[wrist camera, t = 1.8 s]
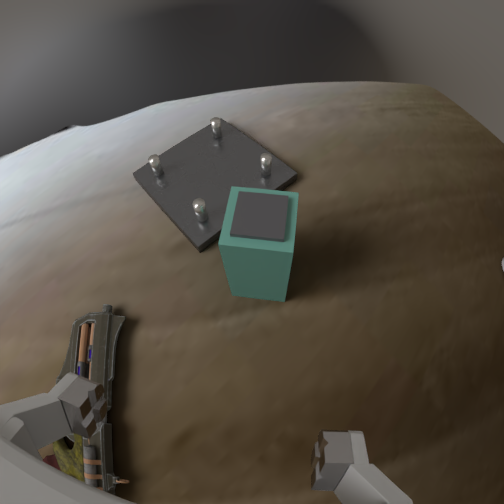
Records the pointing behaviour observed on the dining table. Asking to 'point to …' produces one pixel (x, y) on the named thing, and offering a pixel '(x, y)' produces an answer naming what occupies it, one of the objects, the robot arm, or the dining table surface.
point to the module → (259, 241)
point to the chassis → (209, 178)
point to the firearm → (102, 371)
